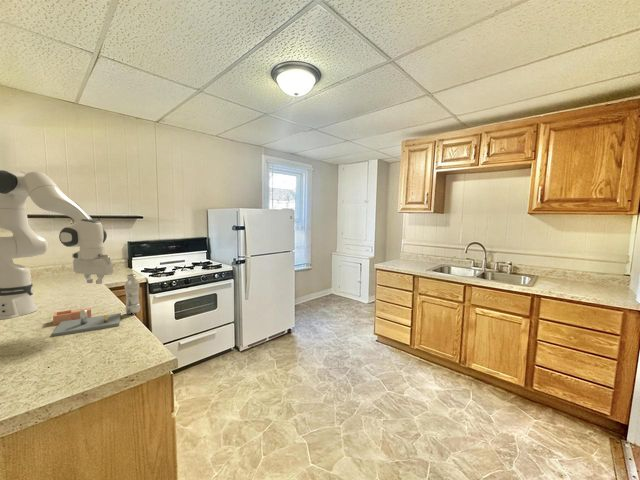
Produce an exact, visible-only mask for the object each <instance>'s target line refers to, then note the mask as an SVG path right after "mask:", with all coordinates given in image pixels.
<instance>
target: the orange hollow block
mask: <svg viewBox="0 0 640 480" xmlns="http://www.w3.org/2000/svg"><path fill="white" fill-rule="evenodd" d="M81 310H87V318H90V317H92V308H91V307H85V308H80V309H69V310H63V311H61V310H60V311H56V312H55V311H54V313H53V315H52V321H53V323H52V324H53V326H54V325H59V324H60V322H62V321H69V320H76V319H80V311H81Z"/></svg>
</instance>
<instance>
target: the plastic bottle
mask: <svg viewBox="0 0 640 480" xmlns="http://www.w3.org/2000/svg"><path fill="white" fill-rule="evenodd" d="M126 280H127V281H125V284H124V290H125V309H124V310H125V313H126V314H127V315H133V314H137V313H139V312H140V311H141V304H140V299H139V291H140V283H139V281H138V280H137V274H133V273H131V274H128V275H127V277H126ZM131 313H132V314H131Z"/></svg>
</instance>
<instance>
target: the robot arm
mask: <svg viewBox="0 0 640 480" xmlns="http://www.w3.org/2000/svg"><path fill="white" fill-rule="evenodd" d="M28 197H29V198H30V199H31V201H32V202H33V203H34V204H35V205H36V206H37V207H38V208H39V209H41V210H43V211H46V212H52V213H56V214H61V215H64V216H66V217H70V218H72V220H73V221H75V222H76V223H75V224H73V225H71V226H67V227H66V226H65V227H63V228H62V229H61V230H60V231H59V235H58V238H59V242H60V243H61V244H62V245H63V246H65V247H69V248H78V247H79V250H78V251H76V252H74V253H72V254H71V255H72V256H71V257H72V259H73V261H72V265H73V271H74V273H75V274H79V275H80V274H81V275H83V276H84V278H85V280H86V283H87V284H93V283H94V279H93V278H92V275H93V276H94V275H96V277H97V279H96V280H95V284H96V285H102V284H103V279H104V277H105V276H110V275H113V273H114V266H113V262H112V259H111V257H110V256H109V255H108V254H105V245H104V243H105V241H107V238H108V237H107V236H108V234H107V232H106V230H105V228H103V225H102V224H103V223H102V222H101V221H99V220H97V219H93V218H92V217H91V216H90V215H89V214H88V213H87V212H86V211H85V210H84V208H82V206H80V205H79V204H78V203H77V202H75V201H74V200H72V199H71V198H69V197H68V196H67V195H66V194H65V193H64V192H63V191H62V190H61V189H60V187H59V186H58V184H57V183H55V181H54V180H53V179H52V178H51V177H49V176H48V174H46V173H44V172H42V171H29V172H26V171H13V170H11V171H10V170H8V171H7V170H1V169H0V229H3V230H7V231H9V232H11V233H12V236H11V235H10V236H0V320H7V319H9V320H10V319H14V318H17V317H21V316H24V315H28V314H31V313H35V312H36V311H38V307H37V305H36V302H35V299H34V285H33V283H32V275H31V274H32V273H31V269H30V268H29V267H27V266H25V265H22V264H19V263H18V264H17V263H14V261H13V260H14V259H18V258H19V259H21V258H30V257H31V258H32V257H38V256H41V255H45V253H46V252H47V251H48V249H49V243H48V240H47V239H45V238H44V237H43V236H41V235H39V234H38V233H36V232H35V231H34V230H33V229H32V228H31V227H30V224H29V220H28V211H27V210H28V209H27V198H28Z"/></svg>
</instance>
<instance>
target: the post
mask: <svg viewBox="0 0 640 480" xmlns="http://www.w3.org/2000/svg"><path fill="white" fill-rule="evenodd" d="M108 315H109V314H106V315H105V316H104V315H103V316H104V323H106V322H108ZM80 324H81V325H84V324H87V310H81V311H80Z"/></svg>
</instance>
